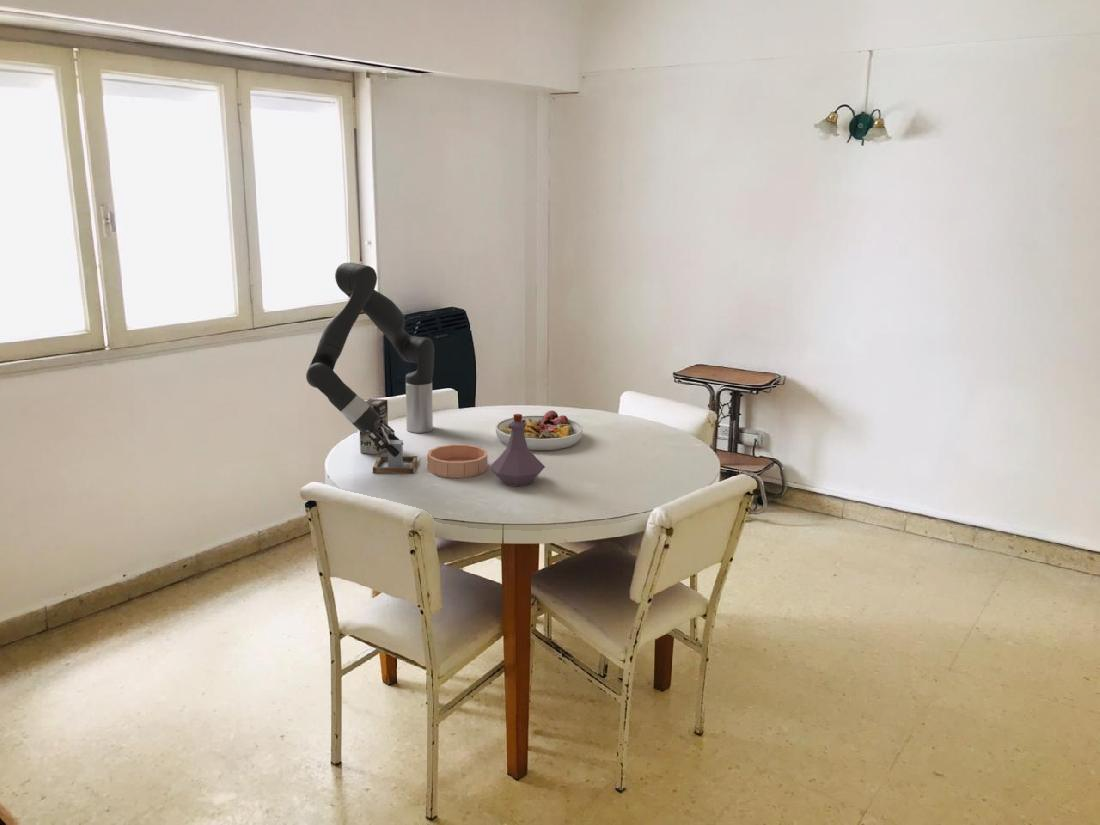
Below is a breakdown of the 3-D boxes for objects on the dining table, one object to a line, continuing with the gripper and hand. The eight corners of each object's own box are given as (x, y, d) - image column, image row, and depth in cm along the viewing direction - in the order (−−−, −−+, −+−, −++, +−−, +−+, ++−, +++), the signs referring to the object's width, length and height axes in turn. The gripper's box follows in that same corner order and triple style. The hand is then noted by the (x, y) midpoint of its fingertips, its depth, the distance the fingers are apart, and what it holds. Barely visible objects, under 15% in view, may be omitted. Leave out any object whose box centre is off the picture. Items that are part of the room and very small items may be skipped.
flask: (477, 481, 234) (477, 415, 229) (515, 467, 247) (516, 405, 241) (518, 494, 224) (519, 426, 219) (556, 480, 236) (558, 415, 231)
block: (390, 464, 247) (389, 439, 245) (403, 464, 247) (402, 439, 245) (388, 468, 243) (387, 443, 241) (401, 468, 243) (400, 443, 241)
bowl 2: (567, 458, 258) (567, 434, 256) (481, 447, 267) (481, 424, 265) (592, 434, 286) (593, 412, 284) (514, 425, 295) (514, 404, 293)
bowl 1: (431, 458, 253) (430, 444, 252) (488, 459, 254) (488, 444, 253) (425, 477, 236) (425, 462, 235) (486, 478, 237) (486, 462, 236)
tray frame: (378, 460, 250) (378, 455, 250) (417, 460, 251) (417, 456, 251) (372, 473, 239) (372, 468, 238) (413, 473, 239) (413, 468, 239)
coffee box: (378, 454, 256) (376, 405, 252) (359, 453, 257) (357, 404, 253) (389, 446, 264) (388, 399, 260) (371, 445, 266) (369, 397, 262)
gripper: (364, 411, 233) (405, 449, 236) (372, 399, 246) (411, 435, 250) (346, 428, 234) (387, 466, 237) (355, 416, 247) (394, 451, 251)
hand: (399, 450), depth 244 cm, fingers open, 8 cm apart
